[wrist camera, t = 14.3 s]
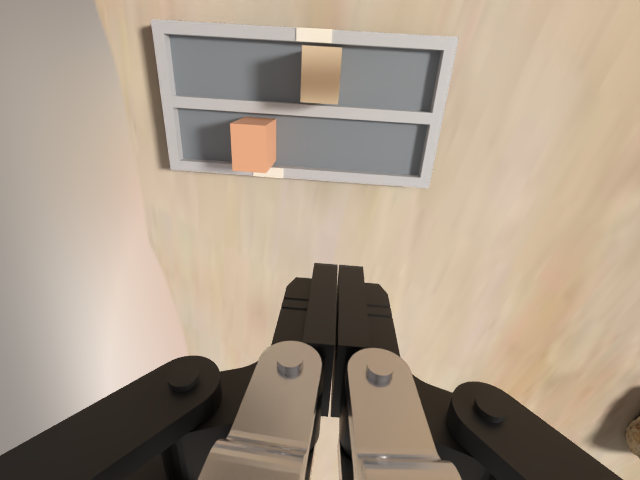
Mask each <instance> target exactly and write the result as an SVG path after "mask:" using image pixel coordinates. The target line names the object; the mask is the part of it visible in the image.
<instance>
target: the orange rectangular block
mask: <svg viewBox="0 0 640 480" xmlns="http://www.w3.org/2000/svg"><path fill="white" fill-rule="evenodd" d="M230 132H231V151H232V169H233V171H243V172H257V173H267V172H268V170H269V169H270V168H271V166H272V165H273V164H274V163H275V161H276V119H273V118H258V117H243V118H241V119H239V120H237V121H234V122H232V123H230Z"/></svg>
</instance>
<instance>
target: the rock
mask: <svg viewBox="0 0 640 480" xmlns="http://www.w3.org/2000/svg"><path fill="white" fill-rule="evenodd" d="M625 437H626V442H627V444H628V446H629V448H630V450H631V451H632V452H633V453H634V454H635V455H636V456H638V457H639V458H640V416H639V417H638V418H637V419H636V420H633V421H632V422H630V423H629V425H628V427H627V428H626V435H625Z"/></svg>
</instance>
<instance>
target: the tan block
mask: <svg viewBox="0 0 640 480" xmlns="http://www.w3.org/2000/svg"><path fill="white" fill-rule="evenodd" d="M341 61H342V48H340V47H324V46H307V45H302V65H301V99H300V102H305V103H321V104H336V105H338V101H339V88H340V75H341Z"/></svg>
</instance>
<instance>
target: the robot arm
mask: <svg viewBox="0 0 640 480" xmlns="http://www.w3.org/2000/svg"><path fill="white" fill-rule="evenodd" d="M331 380H332V394H331V417H339V418H340V420H339V440H338V468H339V480H623V479H621V478H620V477H619V476H617V475H616V474H615V473H613V472H612V471H611V470H609V469H608V468H607V467H605V466H604V465H603V464H601V463H600V462H599V461H597V460H596V459H595V458H593V457H592V456H590V455H589V454H588V453H586V452H585V451H584V450H582V449H581V448H580V447H578V446H577V445H576V444H574V443H573V442H572V441H570V440H569V439H568V438H566V437H565V436H564V435H562V434H561V433H560V432H558V431H557V430H555V429H554V428H553V427H551V426H550V425H549V424H547V423H546V422H545V421H543V420H542V419H541V418H539V417H538V416H537V415H535V414H534V413H533V412H531V411H530V410H529V409H527V408H526V407H525V406H523V405H522V404H520V403H519V402H518V401H516V400H515V399H514V398H512V397H511V396H510V395H508V394H507V393H505V392H504V391H502V390H501V389H499V388H497V387H495V386H492V385H490V384H486V383H482V382H466V383H463V384H461V385H459V386H458V387H457V388H456V389H455V390H454V392H453V393H452V392H449V391H446V390H443V389H440V388H438V387H435V386H432V385H429V384H427V383H425V382H423V381H421V380H419V379H418V378H417V377H415V376H414V375H413V374H412V373H411V370H410V368H409V366H408V365H407V363H406V362H405V361H404V360H403V359H402V358H400V354H399V349H398V344H397V339H396V333H395V328H394V323H393V318H392V313H391V308H390V303H389V298H388V294H387V293H386V292H385V291H384V289H383V288H382V287H381V286H380V285H379V284H373V283H364V273H363V267H360V266H348V265H339V273H338V284H337V265H334V264H322V263H314V269H313V276H312V279H310V278H298V277H296V278H295V279H294V280H293V281H292V282H291V283H290V284H289V285H288V286H287V288H286V292H285V295H284V299H283V303H282V307H281V310H280V314H279V318H278V322H277V326H276V329H275V333H274V337H273V341H272V344H271V346H270V347H268V348H267V349H266V350H265V351H264V352H263V353H262V354H261V356H260V358H259V360H258V361H257V362H256V363H254V364H251V365H249V366H246V367H243V368H238V369H232V370H227V371H221V372H219V369H218V367H217V365H216V364H215V363H214V362H213V361H211V360H210V359H208V358H205V357H202V356H184V357H180V358H177V359H174V360H172V361H170V362H168V363H166V364H164V365H162V366H160V367H159V368H157V369H155V370H154V371H151V372H150V373H148V374H146V375H144V376H142V377H141V378H139V379H137V380H135V381H133V382H132V383H130V384H128V385H126V386H125V387H123V388H121V389H119V390H117V391H116V392H114V393H112V394H110V395H108V396H107V397H105V398H103V399H101V400H99V401H98V402H96V403H94V404H92V405H91V406H89V407H87V408H85V409H83V410H82V411H80V412H78V413H76V414H74V415H73V416H71V417H69V418H67V419H65V420H63V421H62V422H60V423H58V424H57V425H54V426H53V427H51V428H49V429H47V430H45V431H44V432H42V433H40V434H38V435H37V436H35V437H33V438H31V439H29V440H28V441H26V442H24V443H22V444H20V445H19V446H17V447H15V448H13V449H12V450H10V451H8V452H6V453H4V454H2V455H1V456H0V480H310V479H311V473H312V466H313V460H314V453H315V445H316V442H317V440H318V437H319V431H320V419H321V416H327V417H328V411H329V401H330V390H331Z"/></svg>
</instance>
